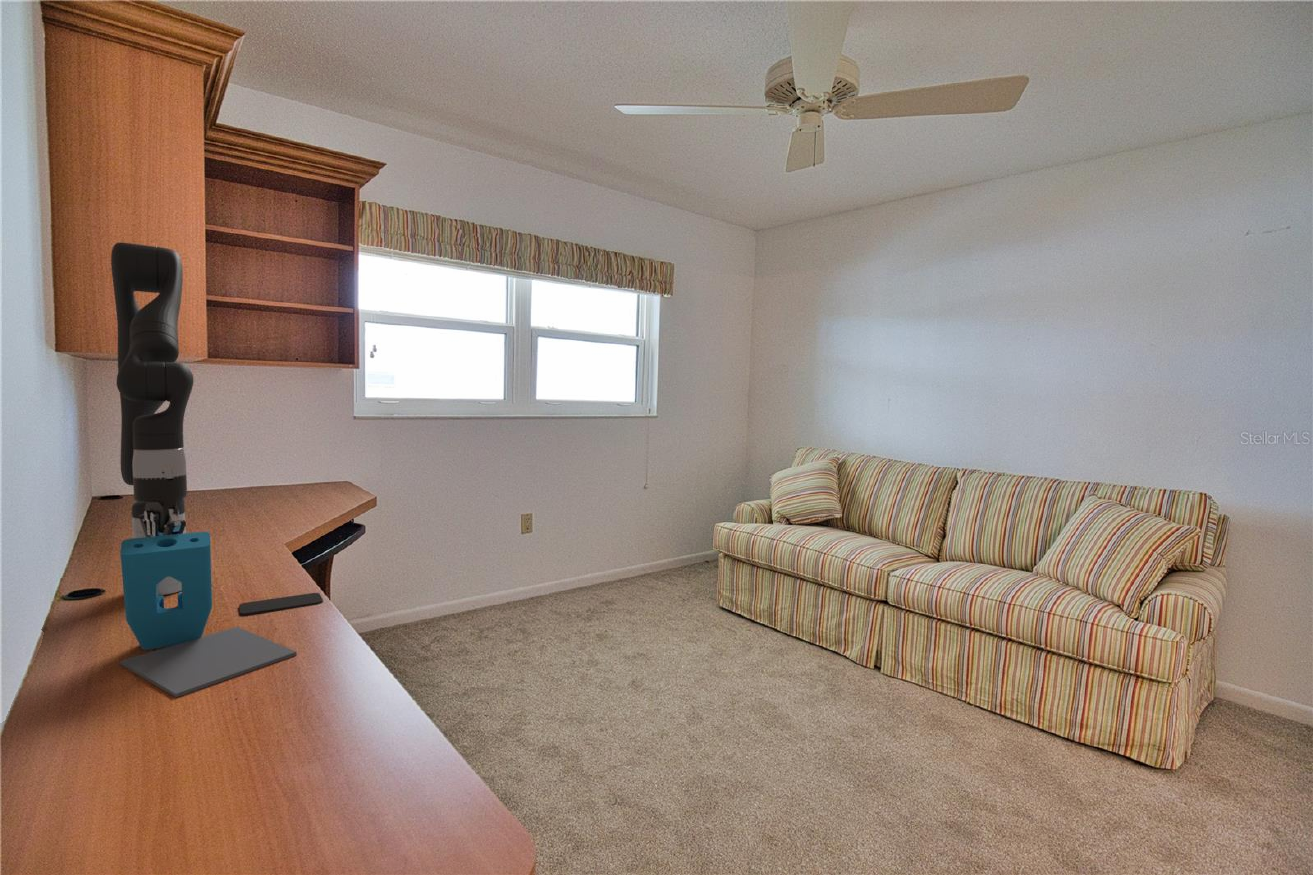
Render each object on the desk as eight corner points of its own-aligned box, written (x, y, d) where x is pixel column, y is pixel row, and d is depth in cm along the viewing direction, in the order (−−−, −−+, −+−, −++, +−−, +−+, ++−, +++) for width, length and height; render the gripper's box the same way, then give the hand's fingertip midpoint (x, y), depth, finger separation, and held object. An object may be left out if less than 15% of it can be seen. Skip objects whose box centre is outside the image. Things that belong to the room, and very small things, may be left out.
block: (128, 653, 108) (119, 555, 101) (130, 634, 112) (121, 539, 105) (213, 638, 115) (210, 546, 108) (212, 621, 119) (209, 531, 112)
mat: (119, 664, 104) (119, 661, 104) (237, 629, 119) (237, 626, 119) (175, 697, 94) (175, 693, 94) (296, 654, 109) (296, 651, 109)
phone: (323, 601, 134) (240, 614, 126) (323, 605, 135) (240, 618, 126) (318, 591, 140) (238, 603, 132) (318, 595, 141) (238, 607, 132)
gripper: (118, 472, 112) (123, 567, 113) (151, 479, 105) (155, 579, 107) (168, 468, 119) (171, 558, 120) (201, 474, 112) (205, 569, 113)
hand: (164, 568), depth 113 cm, fingers closed
